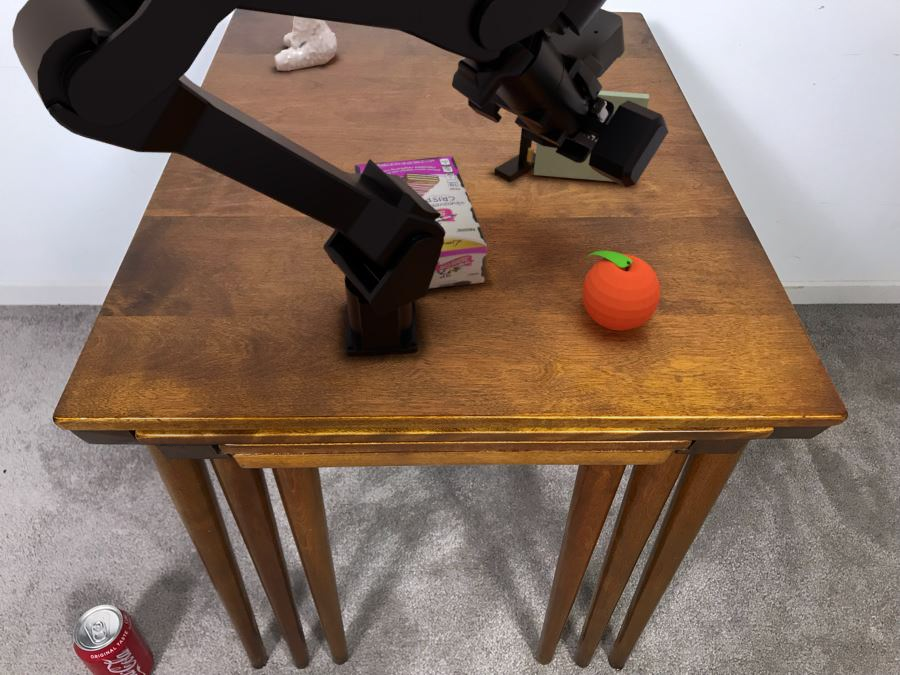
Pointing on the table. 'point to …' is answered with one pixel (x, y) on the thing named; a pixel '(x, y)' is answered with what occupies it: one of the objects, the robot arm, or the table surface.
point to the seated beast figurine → (307, 45)
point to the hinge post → (518, 162)
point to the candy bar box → (446, 217)
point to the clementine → (620, 291)
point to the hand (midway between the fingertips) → (589, 148)
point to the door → (564, 167)
